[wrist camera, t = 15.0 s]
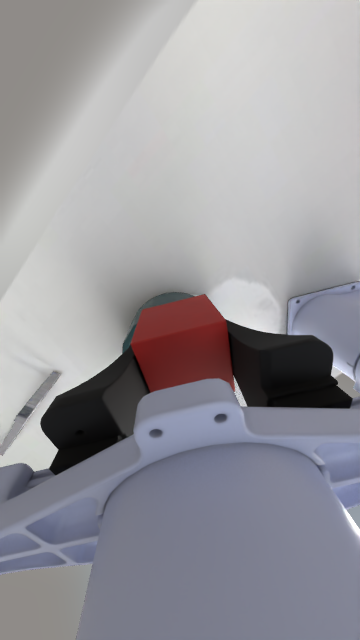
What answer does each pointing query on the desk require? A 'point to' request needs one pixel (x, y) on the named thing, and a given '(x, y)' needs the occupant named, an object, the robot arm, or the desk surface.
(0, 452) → the caliper
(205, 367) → the red block
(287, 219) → the desk surface
